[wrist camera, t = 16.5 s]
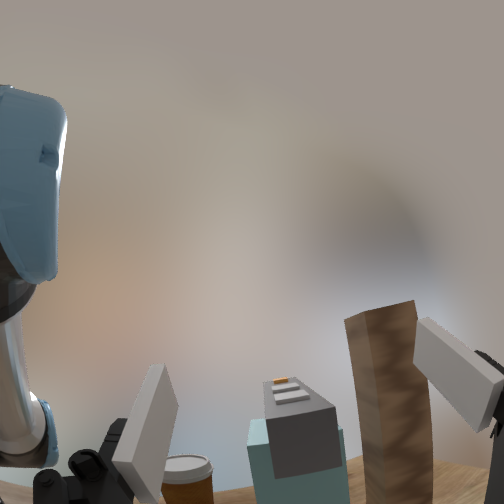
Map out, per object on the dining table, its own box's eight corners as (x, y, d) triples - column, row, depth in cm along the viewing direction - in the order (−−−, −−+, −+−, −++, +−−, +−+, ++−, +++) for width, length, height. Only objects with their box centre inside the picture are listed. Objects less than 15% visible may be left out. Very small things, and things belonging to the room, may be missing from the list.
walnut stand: (385, 547, 21) (363, 311, 30) (367, 520, 28) (344, 319, 37) (430, 529, 21) (413, 299, 30) (406, 507, 28) (386, 310, 37)
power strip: (274, 479, 15) (264, 412, 16) (267, 412, 35) (262, 379, 37) (342, 466, 15) (334, 399, 16) (299, 407, 36) (294, 374, 37)
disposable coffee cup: (234, 528, 33) (221, 464, 36) (173, 541, 28) (154, 476, 32) (213, 506, 40) (201, 449, 44) (161, 516, 36) (145, 457, 40)
